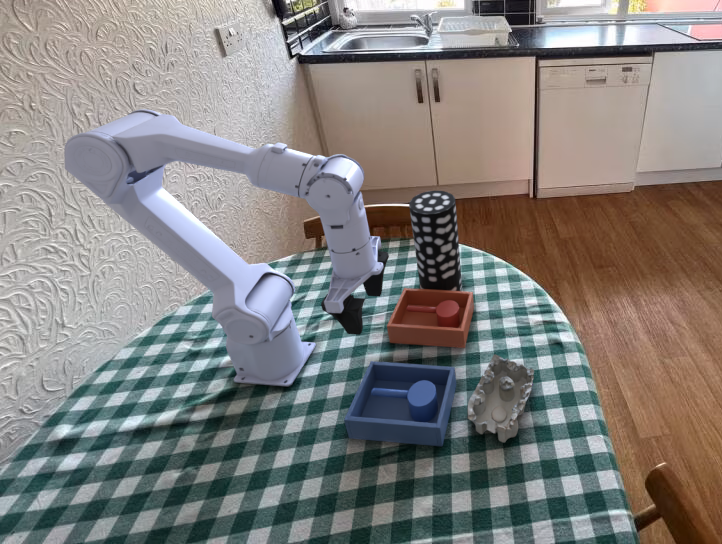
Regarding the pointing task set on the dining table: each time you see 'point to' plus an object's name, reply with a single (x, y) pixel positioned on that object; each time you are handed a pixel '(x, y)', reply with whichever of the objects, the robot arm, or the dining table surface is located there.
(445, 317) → the red ladle-shaped piece
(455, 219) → the black white spotted cylinder
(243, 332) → the robot arm
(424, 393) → the blue cylinder with handle
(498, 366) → the egg carton
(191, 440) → the dining table surface
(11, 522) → the dining table surface
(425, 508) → the dining table surface
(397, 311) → the red bin
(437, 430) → the blue bin
